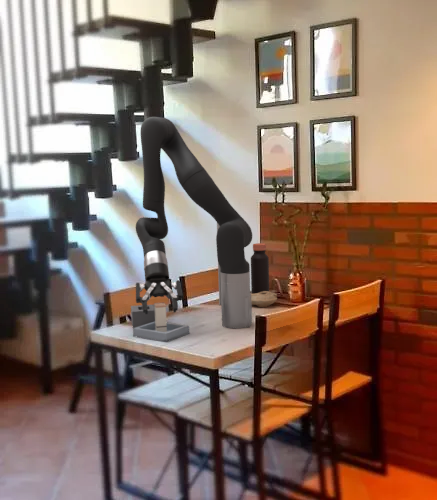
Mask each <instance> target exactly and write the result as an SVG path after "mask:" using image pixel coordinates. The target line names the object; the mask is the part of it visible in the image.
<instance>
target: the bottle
mask: <svg viewBox="0 0 437 500" xmlns="http://www.w3.org/2000/svg"><path fill="white" fill-rule="evenodd" d="M266 250H267V244H266V243H264V242H263V243H253V244H252V252H253V253H252V255H251V256H250V292H251V294H255V293H259V292H263V291H269V292H270V268H269V267H270V266H269V264H270V263H269V262H270V261H269V260H270V259H269V256H268V255H267V254H266Z"/></svg>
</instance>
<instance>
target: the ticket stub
mask: <svg viewBox="0 0 437 500" xmlns="http://www.w3.org/2000/svg"><path fill="white" fill-rule="evenodd" d="M154 306H155V329H156V331H160V332H167V323H166V322H167V304H166V303H165V302H154Z"/></svg>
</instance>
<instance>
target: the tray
mask: <svg viewBox="0 0 437 500" xmlns="http://www.w3.org/2000/svg"><path fill="white" fill-rule="evenodd" d="M166 323H167V332H160V331H156V329H155V321H154V322H151V323H148V324H145V325H142V326H139V327H136V328H133V327H132V333H133V334H132V337H134V336H137V337H136V338H140V337H141V338H142V339H145V338H147V339H146V340H151V339H152V340H153V341H158V342H164V343H168V342H171V341H173V340H176V339H178V338H179V339H180V338H181V337H184V336H187V335H189V334H190V325H188V324H187V325H186V324H181V323H175V322H174V323H173V322H167V321H166Z"/></svg>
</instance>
